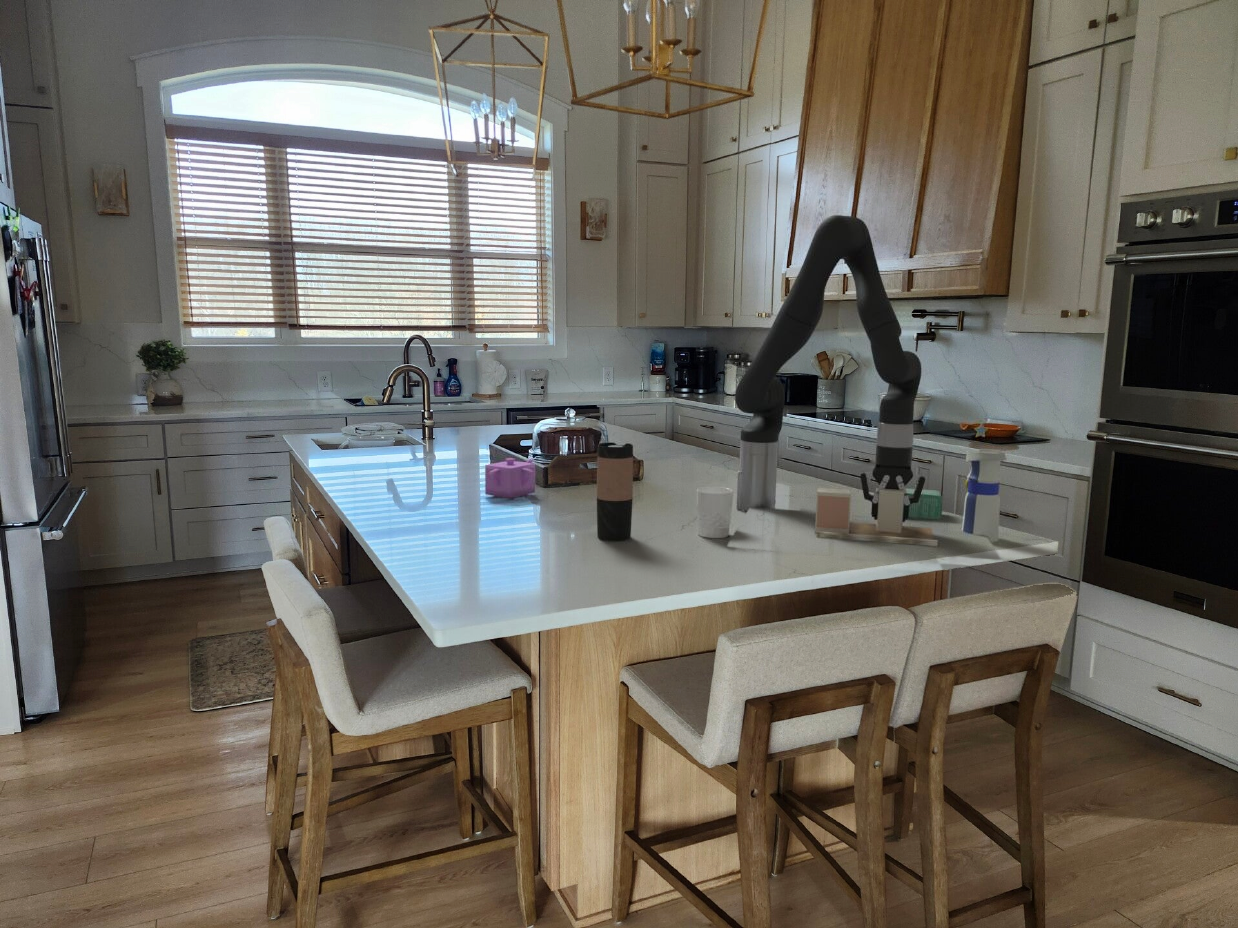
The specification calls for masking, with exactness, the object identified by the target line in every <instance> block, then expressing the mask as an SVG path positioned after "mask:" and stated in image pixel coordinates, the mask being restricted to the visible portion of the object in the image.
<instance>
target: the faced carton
mask: <svg viewBox="0 0 1238 928" xmlns="http://www.w3.org/2000/svg"><path fill="white" fill-rule="evenodd" d="M851 498H852V489H848V488H847V489H842V488H827V487H818V488H817V490H816V502H815V503H816V507H815V526H814V534H817V531H820V532H834V533H848V534H849V522H851V521H850V519H851V518H850V517H851V503H852V501H851V500H852V499H851Z"/></svg>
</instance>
